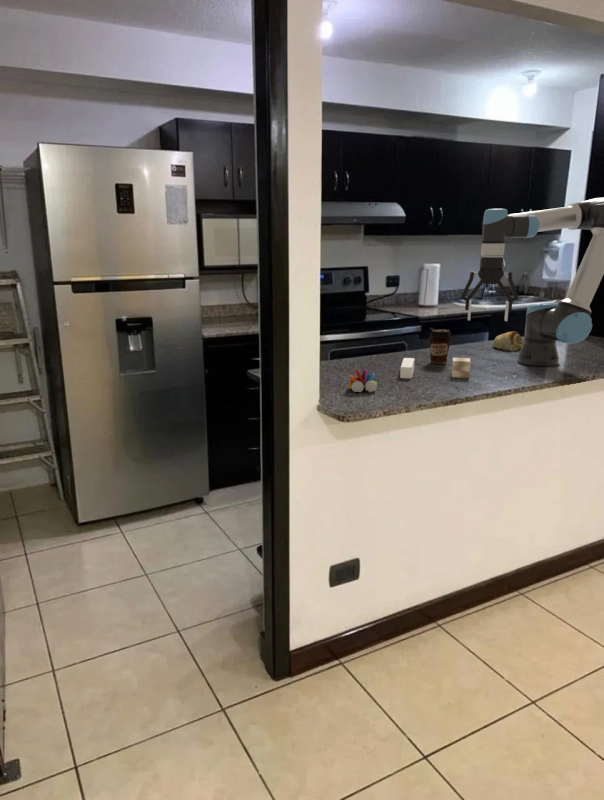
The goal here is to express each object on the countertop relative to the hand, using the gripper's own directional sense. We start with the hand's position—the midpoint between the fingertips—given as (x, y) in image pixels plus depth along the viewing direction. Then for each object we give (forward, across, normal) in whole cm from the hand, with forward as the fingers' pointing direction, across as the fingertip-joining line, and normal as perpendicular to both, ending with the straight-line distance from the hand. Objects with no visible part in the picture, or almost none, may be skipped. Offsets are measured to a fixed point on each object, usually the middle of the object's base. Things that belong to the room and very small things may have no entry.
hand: (487, 320), depth 208 cm
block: (+20, +8, 0) cm, 22 cm away
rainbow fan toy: (+21, +40, +28) cm, 52 cm away
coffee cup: (+20, +16, -20) cm, 33 cm away
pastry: (+21, -13, -56) cm, 62 cm away
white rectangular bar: (+20, +27, 0) cm, 34 cm away
